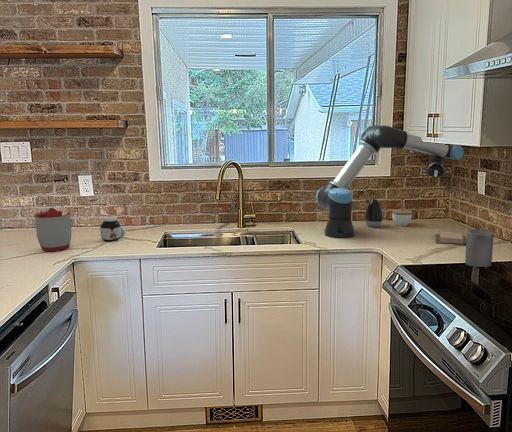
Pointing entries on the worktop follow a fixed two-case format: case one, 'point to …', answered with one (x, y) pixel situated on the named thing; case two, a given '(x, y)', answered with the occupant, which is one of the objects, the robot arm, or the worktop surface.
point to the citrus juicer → (53, 230)
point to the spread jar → (111, 229)
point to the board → (437, 239)
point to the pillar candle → (479, 248)
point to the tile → (451, 237)
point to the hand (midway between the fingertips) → (435, 174)
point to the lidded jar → (401, 217)
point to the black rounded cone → (373, 213)
